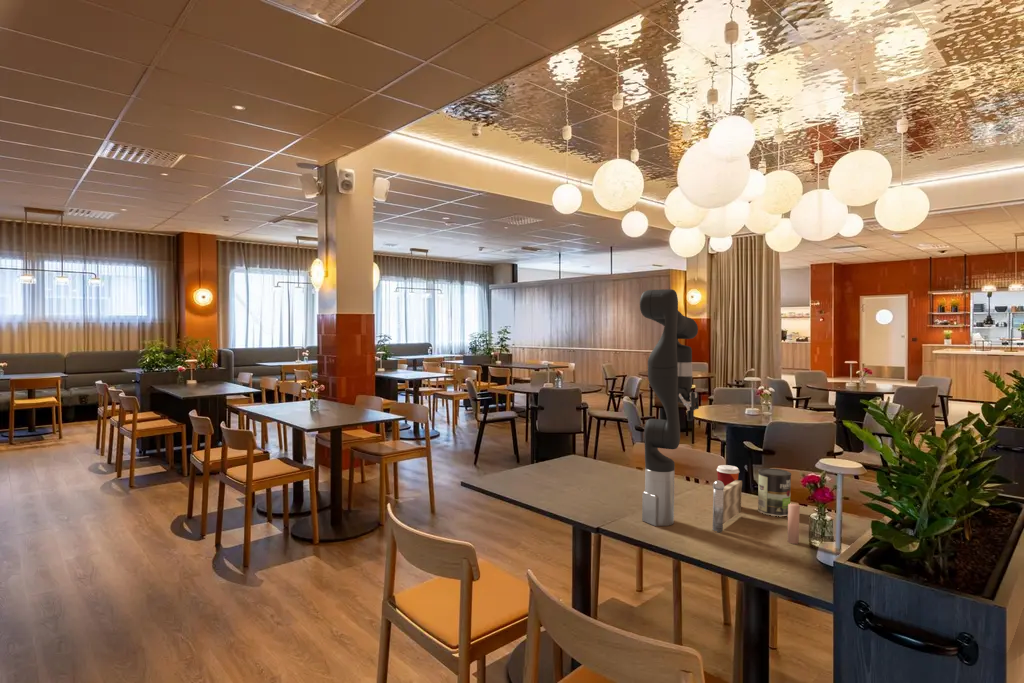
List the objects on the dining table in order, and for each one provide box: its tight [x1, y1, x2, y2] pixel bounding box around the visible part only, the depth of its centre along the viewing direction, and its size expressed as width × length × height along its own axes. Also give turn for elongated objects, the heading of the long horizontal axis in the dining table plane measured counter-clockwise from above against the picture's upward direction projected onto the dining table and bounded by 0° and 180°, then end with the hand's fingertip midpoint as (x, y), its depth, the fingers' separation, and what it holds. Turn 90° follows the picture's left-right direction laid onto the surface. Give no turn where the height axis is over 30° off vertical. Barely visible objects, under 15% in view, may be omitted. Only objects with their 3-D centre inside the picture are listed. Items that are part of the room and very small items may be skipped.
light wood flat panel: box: [723, 479, 743, 525], centre depth 182 cm, size 17×2×10 cm, turn 139°
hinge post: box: [712, 479, 724, 533], centre depth 174 cm, size 3×3×16 cm
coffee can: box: [757, 467, 792, 518], centre depth 192 cm, size 10×10×14 cm
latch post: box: [787, 503, 801, 545], centre depth 165 cm, size 3×3×11 cm
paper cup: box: [716, 464, 740, 486], centre depth 198 cm, size 8×8×14 cm
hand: (680, 419), depth 203 cm, fingers open, 8 cm apart
